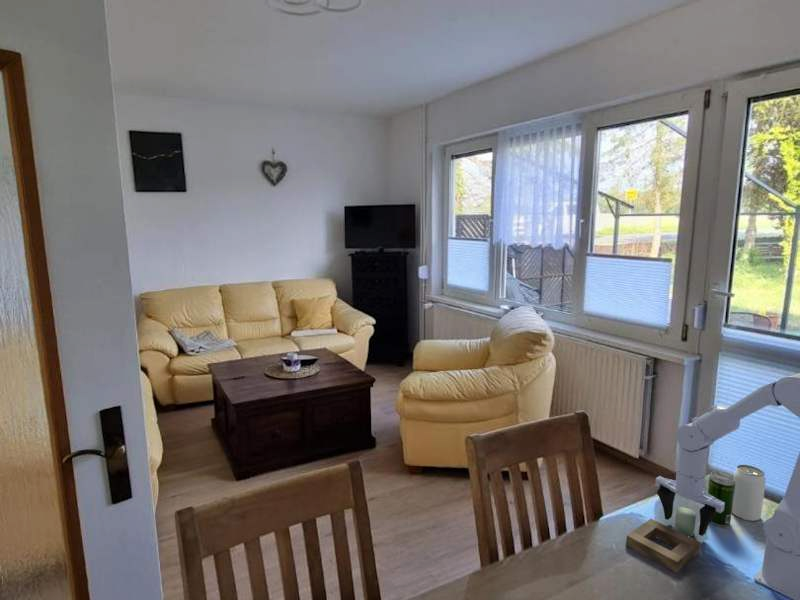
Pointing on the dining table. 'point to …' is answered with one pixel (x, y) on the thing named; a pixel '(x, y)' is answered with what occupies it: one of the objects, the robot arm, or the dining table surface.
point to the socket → (670, 559)
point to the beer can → (722, 495)
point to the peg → (685, 521)
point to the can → (748, 492)
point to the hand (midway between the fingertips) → (684, 525)
